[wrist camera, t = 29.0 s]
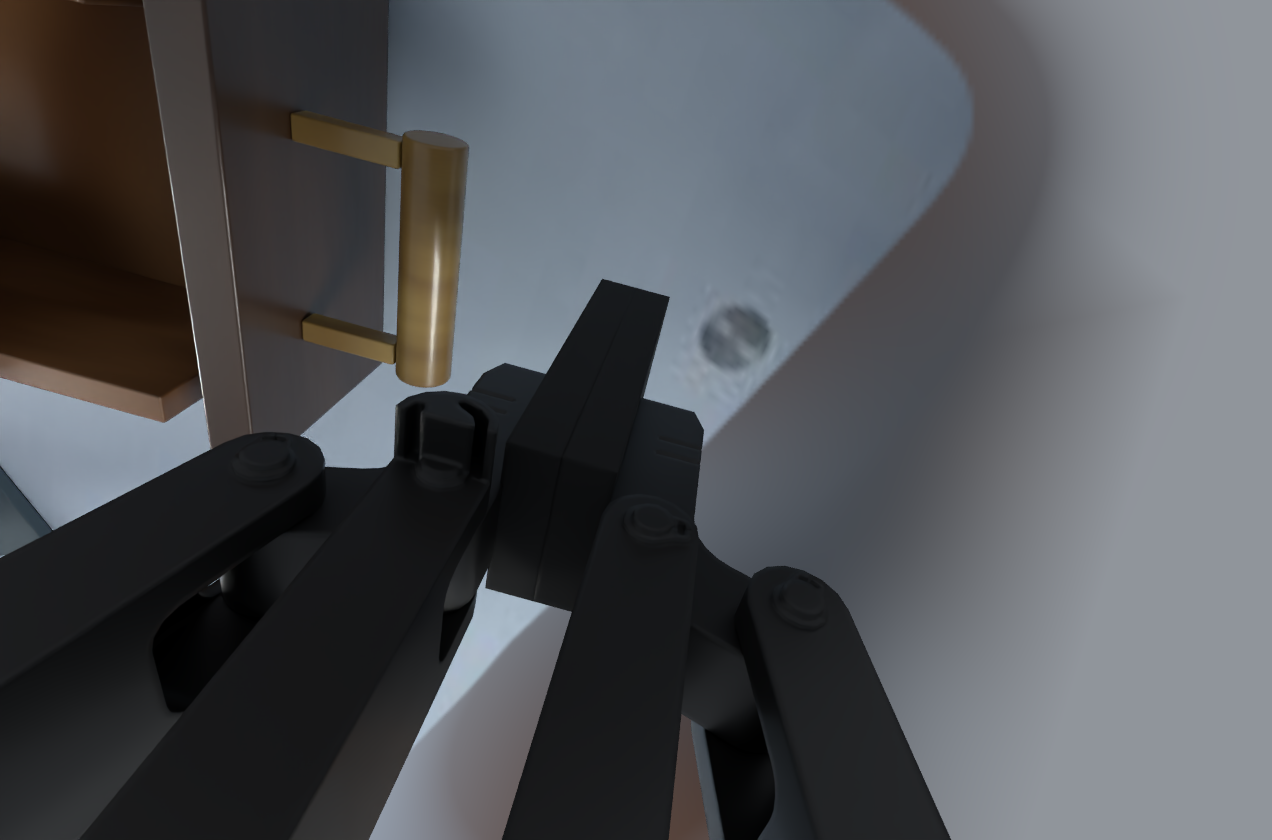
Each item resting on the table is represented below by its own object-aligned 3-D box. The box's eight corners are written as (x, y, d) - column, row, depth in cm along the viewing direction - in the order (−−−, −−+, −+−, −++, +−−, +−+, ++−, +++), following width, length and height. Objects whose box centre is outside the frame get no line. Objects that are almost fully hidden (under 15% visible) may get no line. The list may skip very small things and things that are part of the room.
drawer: (538, 10, 17) (423, -2, 11) (492, 392, 23) (401, 517, 17) (-113, -161, 17) (-566, -263, 11) (11, 260, 23) (-241, 338, 17)
